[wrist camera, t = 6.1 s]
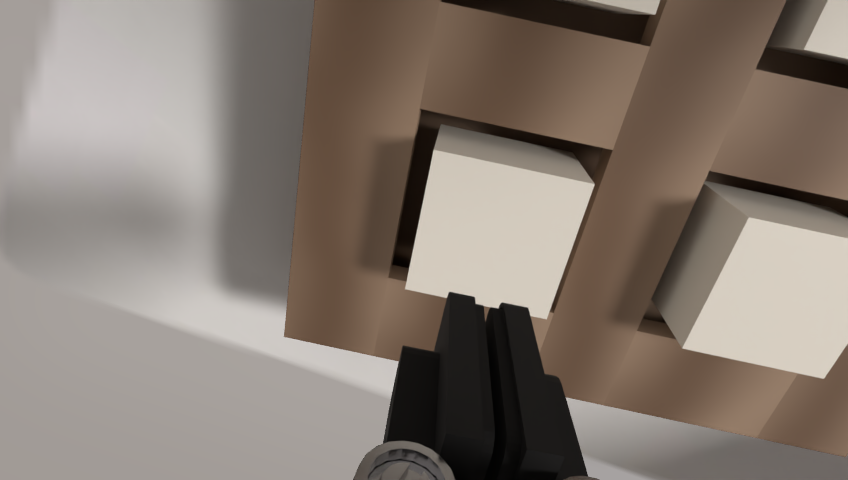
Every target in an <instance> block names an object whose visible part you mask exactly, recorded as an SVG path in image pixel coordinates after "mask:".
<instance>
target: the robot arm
mask: <svg viewBox="0 0 848 480" xmlns="http://www.w3.org/2000/svg"><path fill="white" fill-rule="evenodd" d="M353 480H599V479H596V478H591V477H588V475H587V471H586V467H585V464H584V460H583V457H582V453H581V450H580V446H579V443H578V439H577V436H576V432H575V429H574V425H573V422H572V418H571V415H570V412H569V408H568V405H567V401H566V398H565V394H564V391H563V387H562V384H561V381H560V379H559V378H558V377H557V376H554V375H549V374H545V373H544V369H543V365H542V361H541V357H540V353H539V349H538V345H537V341H536V337H535V333H534V329H533V324H532V320H531V316H530V312H529V309H528V308H527V307H523V306H518V305H513V304H508V303H503V302H502V303H501V304H500V305H499V308H494V307H490V309H489V311H488V314H487V318H486V321H485V314H484V306H483V305H479V304H476V303H475V297H473V296H468V295H463V294H459V293H454V292H449V293H448V296H447V300H446V304H445V308H444V312H443V316H442V320H441V324H440V328H439V332H438V336H437V340H436V344H435V348H434V351H429V350H424V349H419V348H414V347H409V346H404V345H403V346H402V350H401V354H400V359H399V364H398V368H397V373H396V378H395V382H394V387H393V392H392V397H391V402H390V408H389V413H388V418H387V425H386V430H385V435H384V441H383V444H381V445H378V446H376V447H375V448H374V449H372V450H371V451H370V452H368V453H367V454H366V455H365V457H364V458H363V460H362V461H361V463H360V465H359V467H358V469H357V472H356V474H355V476H354V479H353Z"/></svg>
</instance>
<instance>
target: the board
mask: <svg viewBox="0 0 848 480" xmlns="http://www.w3.org/2000/svg"><path fill="white" fill-rule="evenodd" d="M786 1H787V0H660V3H659V6H658V8H657V11H656V14H655V15H643V14H615V13H611V12H606V11H601V10H597V9H592V8H587V7H583V6H578V5H573V4H569V3H564V2H559V1H555V0H315V2H314V13H313V24H312V35H311V46H310V57H309V68H308V79H307V90H306V101H305V112H304V123H303V134H302V145H301V156H300V167H299V178H298V189H297V200H296V211H295V222H294V233H293V244H292V255H291V266H290V277H289V288H288V299H287V310H286V321H285V332H284V337H288V338H292V339H297V340H302V341H306V342H311V343H316V344H320V345H325V346H330V347H334V348H339V349H344V350H348V351H353V352H358V353H362V354H367V355H372V356H376V357H381V358H386V359H390V360H395V361H399V359H400V354H401V350H402V346H403V345H404V346H409V347H414V348H419V349H424V350H429V351H434V348H435V344H436V340H437V336H438V332H439V328H440V324H441V320H442V316H443V312H444V308H445V304H446V300H447V298H444V297H439V296H435V295H430V294H425V293H421V292H416V291H411V290H407V289H405V287H406V282H407V277H408V272H409V267H410V262H411V257H412V253H413V248H414V243H415V238H416V233H417V228H418V223H419V219H420V214H421V209H422V204H423V199H424V194H425V189H426V185H427V180H428V175H429V170H430V165H431V160H432V155H433V151H434V147H435V143H436V140H437V136H438V133H439V129H440V126H441V124H443V125H447V126H452V127H457V128H461V129H466V130H471V131H475V132H480V133H485V134H489V135H494V136H499V137H503V138H508V139H513V140H517V141H522V142H526V143H531V144H536V145H540V146H545V147H550V148H554V149H559V150H564V151H568V152H573V154H574V155H575V157H576V158H577V160H578V161H579V162H580V164H581V165H582V167H583V168H584V169H585V171H586V172H587V174H588V175H589V177H590V178H591V179H592V181H593V182H594V184H595V185H594V188H593V191H592V194H591V196H590V199H589V202H588V205H587V208H586V210H585V213H584V216H583V219H582V222H581V224H580V227H579V230H578V233H577V236H576V239H575V241H574V244H573V247H572V250H571V253H570V255H569V258H568V261H567V264H566V267H565V269H564V272H563V275H562V278H561V281H560V283H559V286H558V289H557V292H556V295H555V297H554V300H553V303H552V306H551V309H550V311H549V314H548V317H547V319H542V318H537V317H533V316H531V320H532V324H533V329H534V333H535V337H536V341H537V345H538V349H539V353H540V357H541V361H542V365H543V369H544V373H545V374H549V375H554V376H557V377H558V378H559V379H560V381H561V384H562V387H563V391H564V394H565V397H568V398H572V399H577V400H582V401H586V402H591V403H596V404H600V405H605V406H610V407H614V408H619V409H624V410H628V411H633V412H638V413H642V414H647V415H652V416H656V417H661V418H666V419H670V420H675V421H680V422H684V423H689V424H694V425H698V426H703V427H708V428H712V429H717V430H722V431H726V432H731V433H736V434H740V435H745V436H750V437H754V438H759V439H764V440H768V441H773V442H778V443H782V444H787V445H792V446H796V447H801V448H806V449H810V450H815V451H820V452H824V453H829V454H834V455H838V456H843V457H846V456H847V455H848V344H847V346H846V347H845V348H844V350H843V351H842V353H841V354H840V356H839V357H838V359H837V360H836V362H835V363H834V365H833V366H832V368H831V369H830V371H829V372H828V374H827V375H826V376H825V378H824V379H822V378H817V377H813V376H808V375H803V374H799V373H794V372H789V371H785V370H780V369H775V368H771V367H766V366H761V365H757V364H752V363H747V362H743V361H738V360H733V359H729V358H724V357H719V356H715V355H710V354H705V353H701V352H696V351H691V350H687V349H682V347H681V346H680V344H679V343H678V341H677V339H676V338H675V336H674V335H673V333H672V331H671V330H670V328H669V326H668V325H667V323H666V322H665V320H664V318H663V317H662V315H661V314H660V312H659V310H658V309H657V307H656V305H655V304H654V302H653V301H652V299H651V298H652V296H653V294H654V292H655V290H656V287H657V285H658V283H659V281H660V279H661V276H662V274H663V272H664V270H665V268H666V265H667V263H668V261H669V259H670V257H671V254H672V252H673V250H674V248H675V245H676V243H677V241H678V239H679V237H680V234H681V232H682V230H683V228H684V226H685V223H686V221H687V219H688V217H689V215H690V212H691V210H692V208H693V206H694V204H695V201H696V199H697V197H698V195H699V193H700V190H701V188H702V186H703V184H704V182H705V181H708V182H713V183H718V184H722V185H727V186H732V187H736V188H741V189H746V190H750V191H755V192H760V193H764V194H769V195H774V196H778V197H783V198H788V199H792V200H797V201H802V202H806V203H811V204H816V205H820V206H825V207H830V208H832V209H833V210H835V211H837V212H839V213H841V214H842V215H844V216H846V217H848V65H845V64H840V63H836V62H831V61H826V60H822V59H817V58H812V57H808V56H803V55H798V54H794V53H789V52H784V51H780V50H775V49H770V48H766V45H767V43H768V40H769V38H770V36H771V34H772V31H773V29H774V27H775V25H776V23H777V20H778V18H779V16H780V14H781V12H782V9H783V7H784V5H785V3H786ZM489 309H490V307H486V306H484V314H485V321H486V318H487V314H488V311H489Z"/></svg>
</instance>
